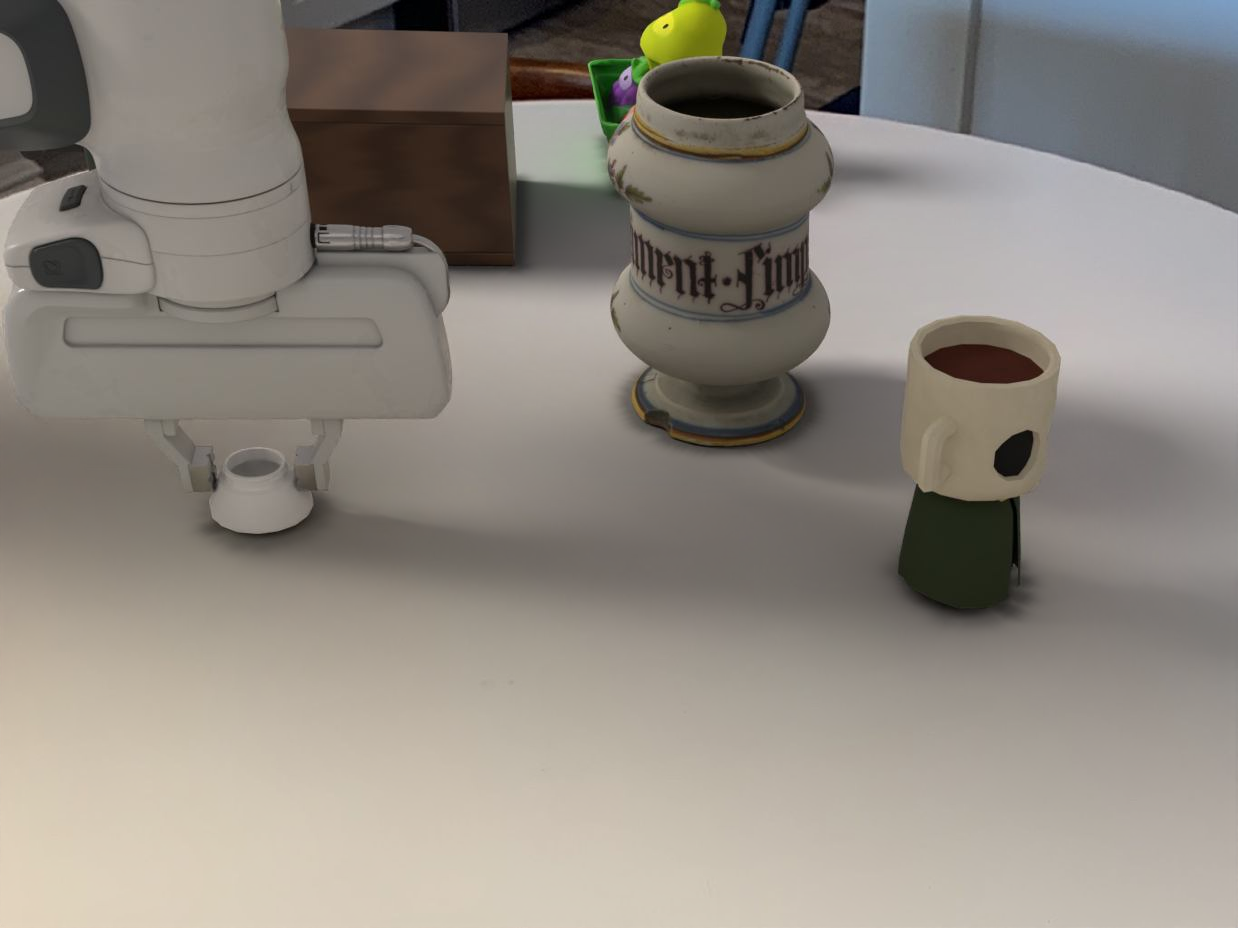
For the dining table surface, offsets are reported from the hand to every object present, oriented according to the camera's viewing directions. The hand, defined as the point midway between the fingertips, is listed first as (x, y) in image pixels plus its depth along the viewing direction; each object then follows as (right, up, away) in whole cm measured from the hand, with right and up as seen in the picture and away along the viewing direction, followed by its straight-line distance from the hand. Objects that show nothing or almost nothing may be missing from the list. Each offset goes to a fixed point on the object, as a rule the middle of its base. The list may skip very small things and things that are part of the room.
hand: (258, 486), depth 96 cm
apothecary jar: (+22, +7, +12) cm, 26 cm away
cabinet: (+1, +22, +26) cm, 34 cm away
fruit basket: (+16, +29, +35) cm, 48 cm away
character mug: (+35, -5, +1) cm, 36 cm away
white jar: (0, -1, +1) cm, 2 cm away
